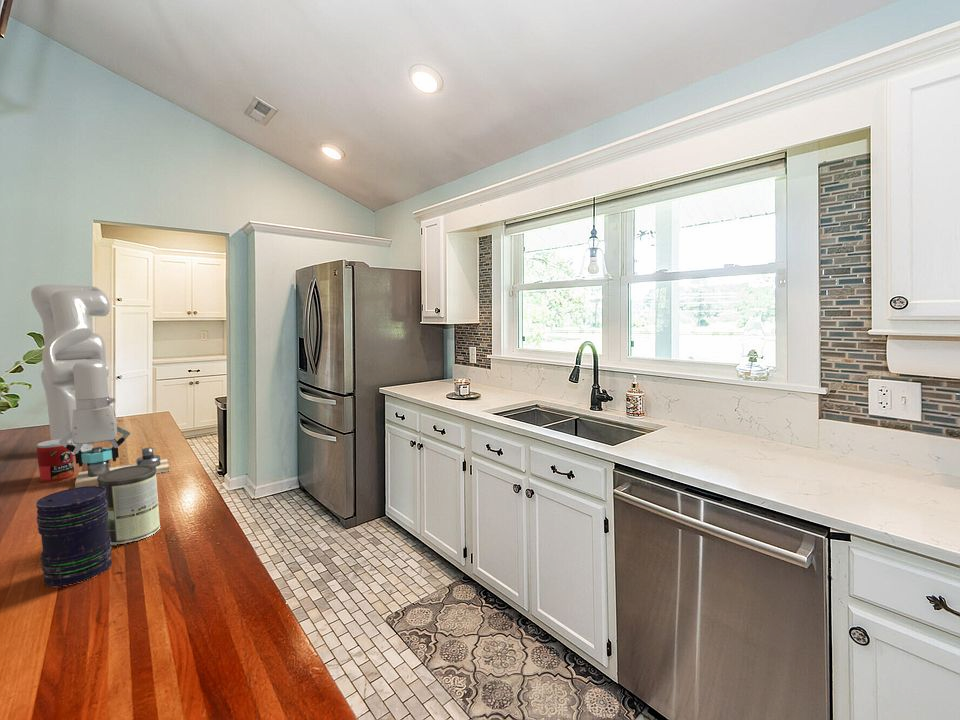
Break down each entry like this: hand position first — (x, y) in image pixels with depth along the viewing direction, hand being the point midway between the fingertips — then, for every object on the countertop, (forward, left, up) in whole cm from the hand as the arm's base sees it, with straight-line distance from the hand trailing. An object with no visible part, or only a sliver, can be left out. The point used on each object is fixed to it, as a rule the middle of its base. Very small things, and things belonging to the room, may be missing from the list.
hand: (98, 462), depth 136 cm
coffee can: (+50, +8, -5) cm, 51 cm away
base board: (0, +6, -5) cm, 8 cm away
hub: (0, +12, -3) cm, 12 cm away
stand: (0, 0, -3) cm, 3 cm away
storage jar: (+63, 0, -5) cm, 63 cm away
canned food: (-9, -10, -5) cm, 14 cm away
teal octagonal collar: (0, 0, +1) cm, 1 cm away
